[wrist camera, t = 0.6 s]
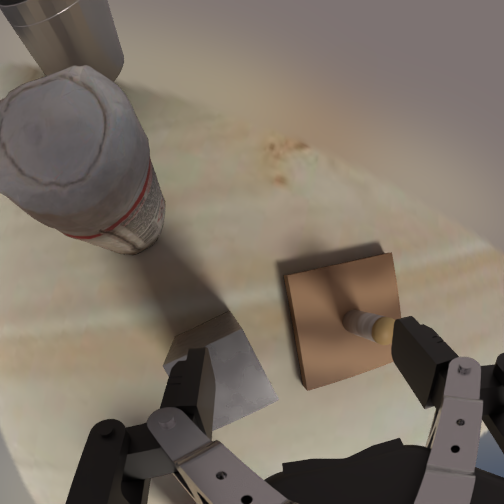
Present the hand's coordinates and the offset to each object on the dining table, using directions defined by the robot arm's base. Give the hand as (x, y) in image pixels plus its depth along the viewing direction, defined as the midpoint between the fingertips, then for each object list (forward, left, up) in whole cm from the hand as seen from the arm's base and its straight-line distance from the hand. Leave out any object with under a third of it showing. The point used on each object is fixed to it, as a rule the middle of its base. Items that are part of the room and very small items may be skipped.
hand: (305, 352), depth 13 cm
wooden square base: (+4, +10, -19) cm, 22 cm away
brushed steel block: (+4, -4, -19) cm, 19 cm away
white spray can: (-11, -10, -19) cm, 24 cm away
